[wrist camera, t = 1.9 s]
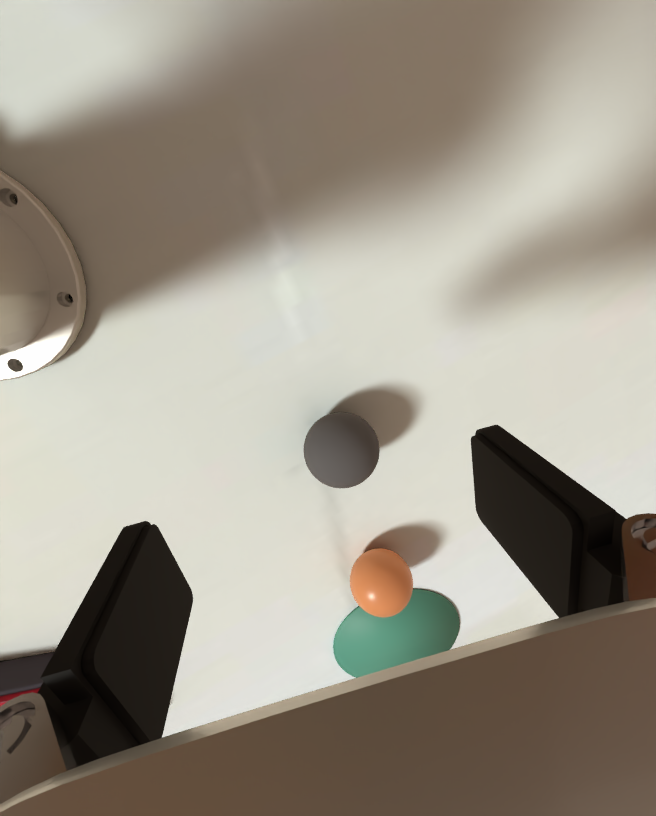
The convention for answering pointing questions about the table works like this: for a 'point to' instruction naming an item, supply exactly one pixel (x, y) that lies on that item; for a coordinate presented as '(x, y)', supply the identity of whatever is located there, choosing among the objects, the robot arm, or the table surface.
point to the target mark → (396, 635)
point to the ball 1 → (341, 450)
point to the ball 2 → (381, 582)
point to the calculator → (22, 676)
